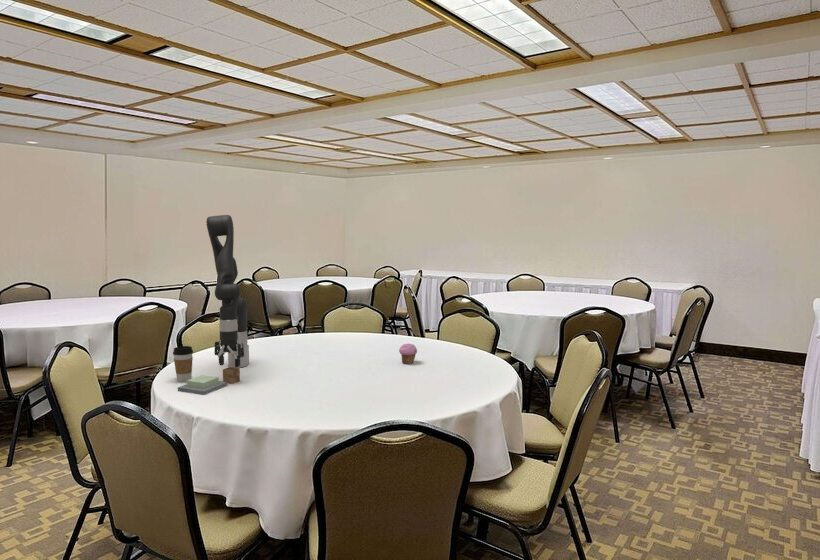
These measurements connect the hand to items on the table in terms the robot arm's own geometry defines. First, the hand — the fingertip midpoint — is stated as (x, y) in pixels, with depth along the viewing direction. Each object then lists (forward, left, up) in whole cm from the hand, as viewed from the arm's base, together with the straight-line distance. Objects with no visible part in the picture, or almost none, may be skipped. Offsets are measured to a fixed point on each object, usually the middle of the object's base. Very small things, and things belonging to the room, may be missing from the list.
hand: (229, 365), depth 242 cm
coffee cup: (+5, -21, -8) cm, 23 cm away
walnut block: (-1, 0, -7) cm, 7 cm away
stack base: (+11, -5, -7) cm, 14 cm away
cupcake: (-60, +60, -8) cm, 85 cm away
